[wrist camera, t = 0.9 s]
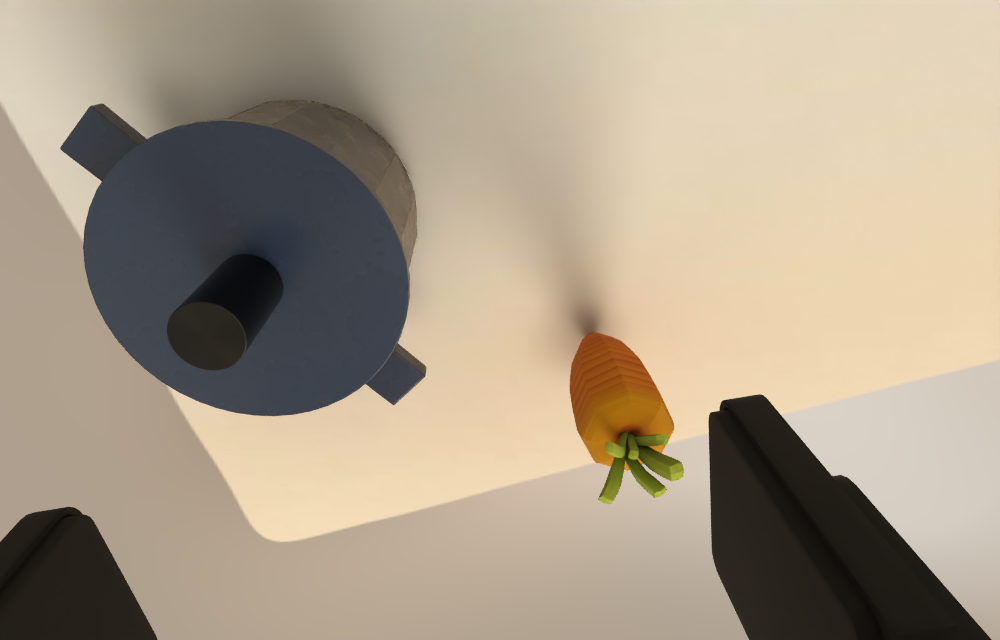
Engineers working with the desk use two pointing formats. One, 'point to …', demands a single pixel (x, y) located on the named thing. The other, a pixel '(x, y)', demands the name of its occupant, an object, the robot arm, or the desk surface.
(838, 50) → the desk surface
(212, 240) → the lid
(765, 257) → the desk surface
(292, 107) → the pot
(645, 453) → the carrot
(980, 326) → the desk surface
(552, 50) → the desk surface
